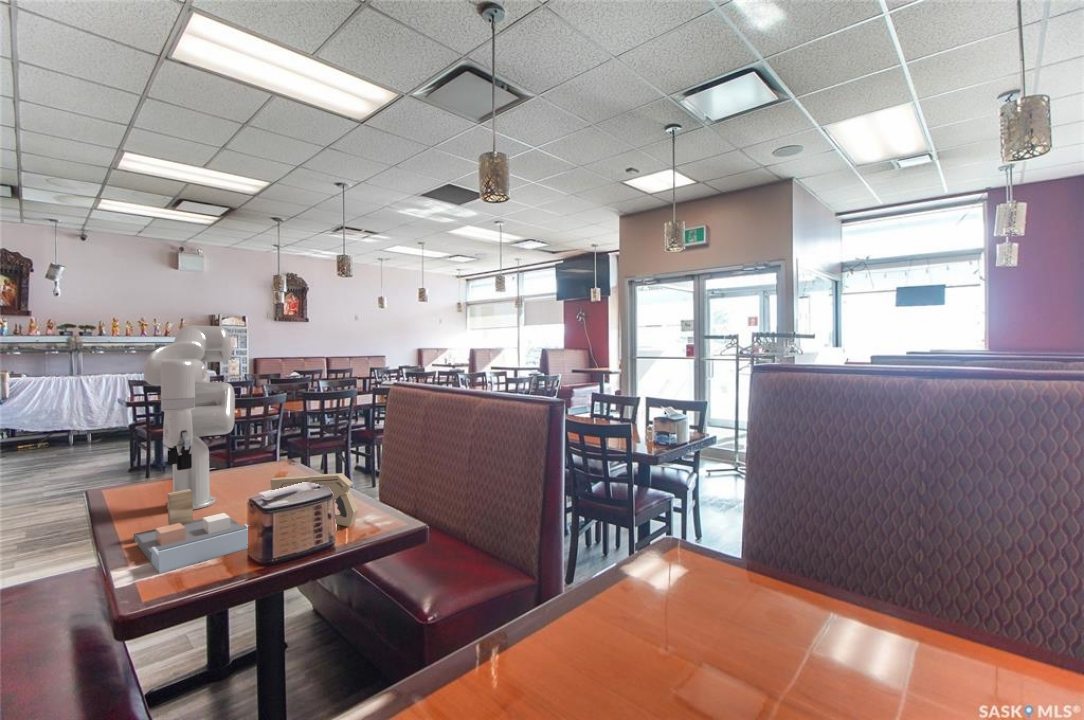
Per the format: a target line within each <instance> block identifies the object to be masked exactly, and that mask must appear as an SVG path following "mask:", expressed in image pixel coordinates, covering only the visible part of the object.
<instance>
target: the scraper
mask: <svg viewBox="0 0 1084 720" xmlns="http://www.w3.org/2000/svg"><path fill="white" fill-rule="evenodd" d="M167 505H168V509H167V526H168V525H172V524H177V523H181V524H182V525H186V524H190V523H194V522H199V521H203V517H202V518H199V519H194V511H193V494H192V491H191V490H190V489H188V490H183V491H177V492H173V491H172V492H167ZM155 531H156V528H154V529H150V530H146V531H140V532H135V533H134V534H133V542H134V543H135V544H136V543H137V536H138V535H142V534H147V533H151V532H155ZM137 544H138V543H137Z"/></svg>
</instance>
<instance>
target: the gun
mask: <svg viewBox="0 0 1084 720" xmlns="http://www.w3.org/2000/svg"><path fill="white" fill-rule="evenodd" d="M302 482H310V483H315V484H319V485H324V486H327V487H329V488H330V489H331V491H332V492H333V494H334V500H333V501H335V502H334V503H335V504H337V506H336V507H337V508H336V509H337V510H338V511H339V512H337V513H334V514H335V519H336V524H335V525H338V526H344V527H347V528H349V527H352V526H353V525H354V524H355V522H356V518H357V515H358V512H359V509H358V506H357V504H356V500H355V499H354V496H353V493H352V492H351V491H350V489H351V488H352V486H353V485H354V483H353V482H352V481H351V479H350V478H348V477H347V476H346V475H345V474H344V473H343V472H341V473H324V474H314V475H301V476H299V475H298V476H285V477H284V476H283V477H282V476H281V477H275V478H272V479H270V489H271V490H275V489H279V488H283V487H287V486H291V485H294V484H298V483H302Z"/></svg>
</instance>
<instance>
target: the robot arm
mask: <svg viewBox="0 0 1084 720" xmlns="http://www.w3.org/2000/svg"><path fill="white" fill-rule="evenodd" d="M231 341H232V340H231V338H230V334H229V332H228V331H227V330H226V329H225V328H224V327H222V326H219V325H186V326H183V327H181V328H179V330H178V331H177V333H176V336H175V337H174V340H173V342H172V343H170V344H166V345H165V346H161V347H159V348H156V349H155V350H153V351H151V352H150V354H149V355H148V357H147V359H146V361H145V365H144V368H143V378H144V380H145V382H146V383H148V384H149V385H151V386H160V392H161V393H160V395H161V396H160V408H161V409H160V410H161V412H163V413H164V414H163V428H162V431H163V432H162V433H163V434H162V443H163V445H165V446H166V447H167V464H168V466H171V465H172V492H177V491H183V490H188V489H190V490H191V491H192V494H193V510H198V509H203V508H205V507H208V506H211V505H213V504H214V503H216V497H215V496H214V495H211V494H210V493H211V492H210V450H209V447H208V445H207V443H205V442H204V441H203V439H201V437H206V436H208V437H209V436H218V435H219V436H220V435H227V434H230V433H231V432H232V431H233V429H234V426H235V416H236V415H235V413H236V411H235V409H236V408H235V407H236V396H235V395H236V394H235V389H234V387H233V385H232V384H231V383H229V382H223V381H219V382H218V381H217V382H216V381H215V382H214V381H213V382H211V375H210V374H209V372H208V371H207V366H206V364H205V363H222V362H224V363H225V362H228V361H229V360H230V359H231V357H232V354H233V345H232V342H231ZM166 508H167V510H168V504H167V505H166Z"/></svg>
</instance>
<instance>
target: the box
mask: <svg viewBox="0 0 1084 720" xmlns="http://www.w3.org/2000/svg"><path fill="white" fill-rule="evenodd" d="M248 526H249V525H248V524H247V523H244V524H243V527H244V530H240V531H236V532H232V533H228V534H224V535H220V536H217V537H213V538H209V539H205V540H201V541H197V542H193V543H189V544H185V545H181V546H177V547H174V548H170V549H166V550H162V551H158V550H157V549H156V547H152V555H151V562H150V563H151V565H152V566H153V568H154V569H155V570H156V572H157V573H158V574H164V573H167V572H171V571H174V570H177V569H181V568H185V567H189V566H193V565H197V564H199V563H203V562H205V561H209V560H214V559H217V558H221V557H223V556H227V555H231V554H234V553H237V552H241V551H244V550H248V545H247V544H248Z"/></svg>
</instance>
